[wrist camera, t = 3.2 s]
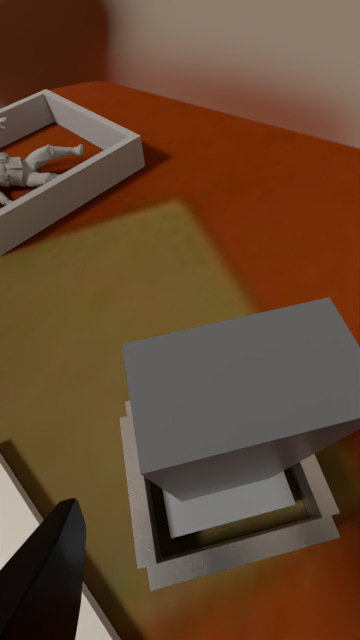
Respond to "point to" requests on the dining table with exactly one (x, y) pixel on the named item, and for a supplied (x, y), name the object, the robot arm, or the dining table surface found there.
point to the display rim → (77, 183)
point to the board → (14, 529)
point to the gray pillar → (240, 408)
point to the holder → (227, 551)
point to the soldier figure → (30, 166)
